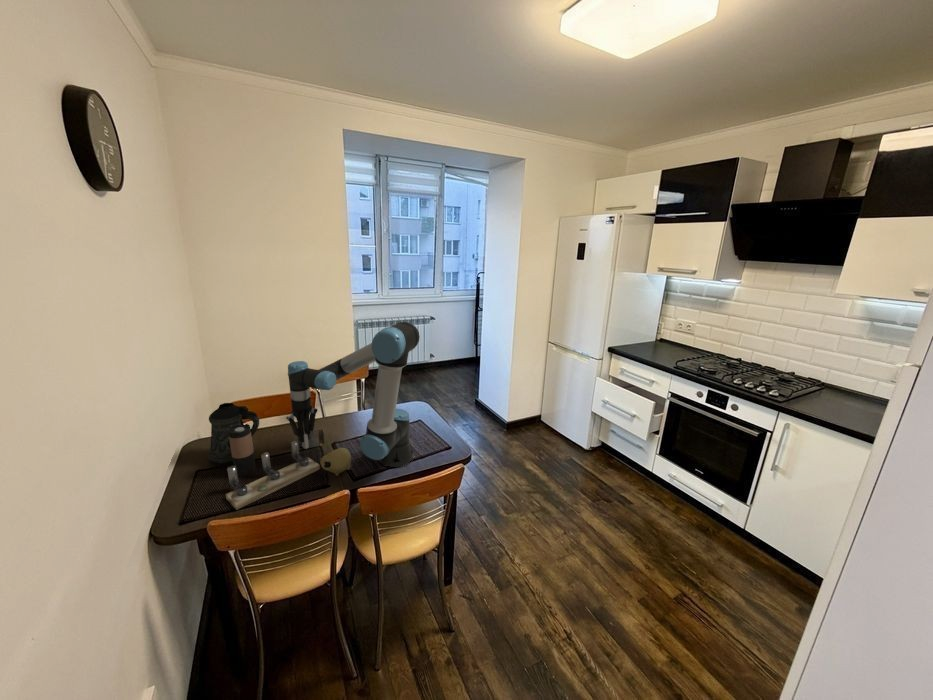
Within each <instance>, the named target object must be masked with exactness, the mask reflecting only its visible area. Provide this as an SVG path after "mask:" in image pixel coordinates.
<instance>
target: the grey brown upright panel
mask: <svg viewBox="0 0 933 700" xmlns="http://www.w3.org/2000/svg"><path fill="white" fill-rule="evenodd" d="M310 432H311V433H310V434H309V435H310V439H309V440H308V444H309V448H308V449H310V448H315V447H321V446H322V447H323V446H325V445H326V441H325V440H326V438H325V430H324V428H319V429H313V431H310ZM304 433H305V432H304ZM297 441H298V446H299V448H301V447H302V442H300V438H299V436H297ZM302 448H303V447H302ZM303 449H305V448H303ZM305 450H306V449H305Z"/></svg>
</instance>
